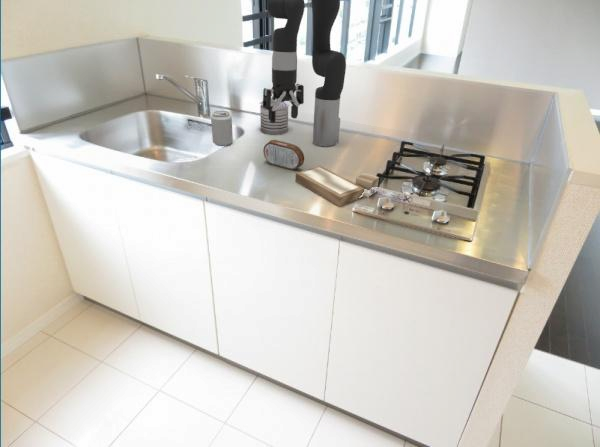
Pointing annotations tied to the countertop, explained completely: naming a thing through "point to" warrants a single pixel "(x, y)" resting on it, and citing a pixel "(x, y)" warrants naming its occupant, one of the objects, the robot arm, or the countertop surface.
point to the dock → (329, 185)
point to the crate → (367, 181)
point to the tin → (283, 154)
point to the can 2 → (280, 120)
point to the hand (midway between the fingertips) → (283, 119)
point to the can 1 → (221, 128)
